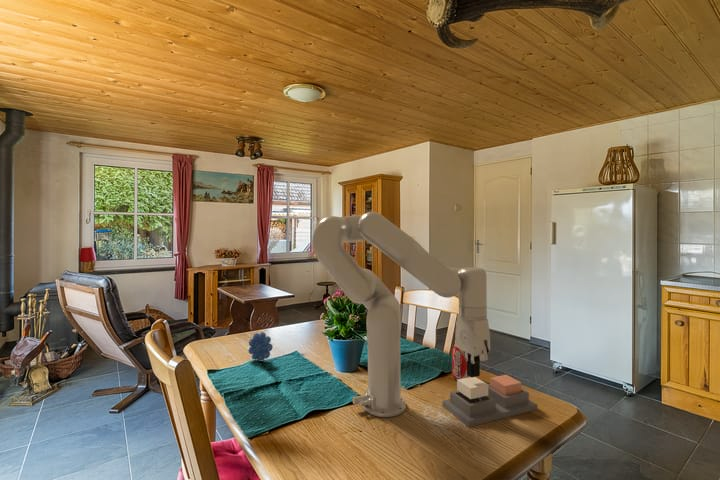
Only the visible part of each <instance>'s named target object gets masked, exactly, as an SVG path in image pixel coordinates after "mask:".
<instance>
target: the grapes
mask: <svg viewBox="0 0 720 480" xmlns="http://www.w3.org/2000/svg"><path fill="white" fill-rule="evenodd" d="M271 342H272V338H271V337H270V336H269V335H267V333H265V332H264V331H261V332H260V333H258V332H257V333H254V334H253V336H252V338H251V339H249V341H248V345H249V348H248V353H249V354H250V355H251V359H252V360H253V359H257V361H258V360H264V361H265V359H269V357H270V356H271V351H272V350H273V344H272V343H271Z"/></svg>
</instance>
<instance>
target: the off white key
mask: <svg viewBox="0 0 720 480" xmlns="http://www.w3.org/2000/svg"><path fill="white" fill-rule="evenodd" d="M488 384H489V383H486V382H485V381H482V380H481V379H479V378H478V377H472V378H471V377H468V378H463V379H458V380H456V391H459V392H461V393H462V394H464V395H465V396H467V397H468V398H470V399H474V398H479V397H483V396H487V395H488Z"/></svg>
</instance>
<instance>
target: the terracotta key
mask: <svg viewBox="0 0 720 480" xmlns="http://www.w3.org/2000/svg"><path fill="white" fill-rule="evenodd" d="M489 384H490V387H491V388H493V389H494V390H496V391H498V392H499V393H501V394H503V395H504V396H507V395H511V394H515V393H520V392H521V389H522V382H521V381H519V380H517V379H515V378H513V377H511V375H510V376H509V375H508V374H503V375H499V376H498V375H497V376H493V377H490V382H489Z"/></svg>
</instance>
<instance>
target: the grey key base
mask: <svg viewBox="0 0 720 480" xmlns="http://www.w3.org/2000/svg"><path fill="white" fill-rule="evenodd" d="M487 384H488V395H487V396H483V397H479V398H474V399H470V398H468V397H467V396H465V395H464V394H462V393H461V392H459V391H458V390H453V391H450V393H449V394H450V395H449V397H450V398H448V399H444V400H441V401H442V403H441V404H442V407H443V408H444V409H445V410H447V411H448V412H449V413H451V414H452V415H453V416H454V417H456V418H457V419H458V420H459V421H460V422H461V423H463V424H465V425H466V426H467V427H468V428H470V427H474V426H479V425H481V424H486V423H489V422H494V421H498V420H501V419H505V418H509V417H514V416H517V415H521V414H525V413H529V412H533V411H537V410H538V404H537V403H536V402H534V401H532V400H531V399H530V393H529V391H527V390H525V389H523V388H521V392H520V393H515V394H511V395H507V396H504V395H503V394H501V393H499V392H498V391H496V390H494V389H493V388H491V387H490V383H487Z"/></svg>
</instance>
